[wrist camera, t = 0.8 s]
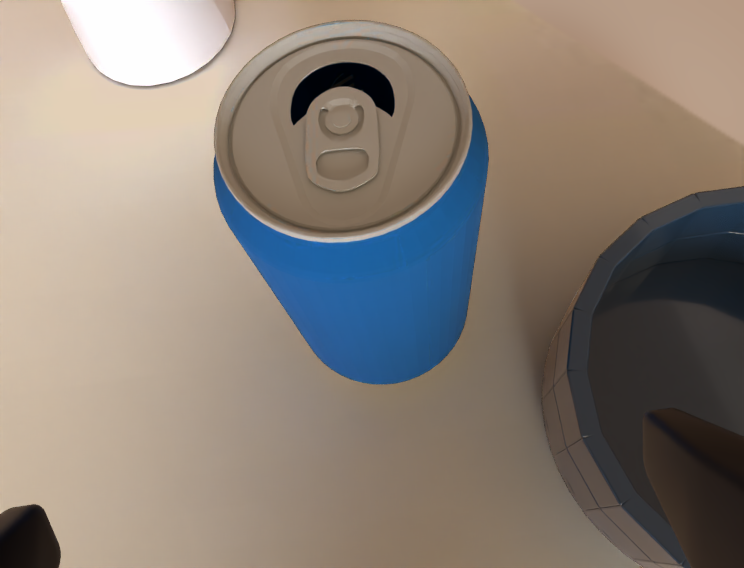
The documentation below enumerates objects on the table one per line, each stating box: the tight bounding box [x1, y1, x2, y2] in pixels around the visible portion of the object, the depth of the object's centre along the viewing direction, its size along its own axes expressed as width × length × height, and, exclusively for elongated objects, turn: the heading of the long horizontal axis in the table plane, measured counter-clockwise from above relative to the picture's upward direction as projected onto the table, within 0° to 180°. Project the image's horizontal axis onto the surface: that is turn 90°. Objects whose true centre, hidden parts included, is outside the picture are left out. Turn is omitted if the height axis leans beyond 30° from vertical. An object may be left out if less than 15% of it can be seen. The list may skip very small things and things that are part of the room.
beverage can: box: [214, 20, 489, 384], centre depth 19 cm, size 6×6×12 cm
